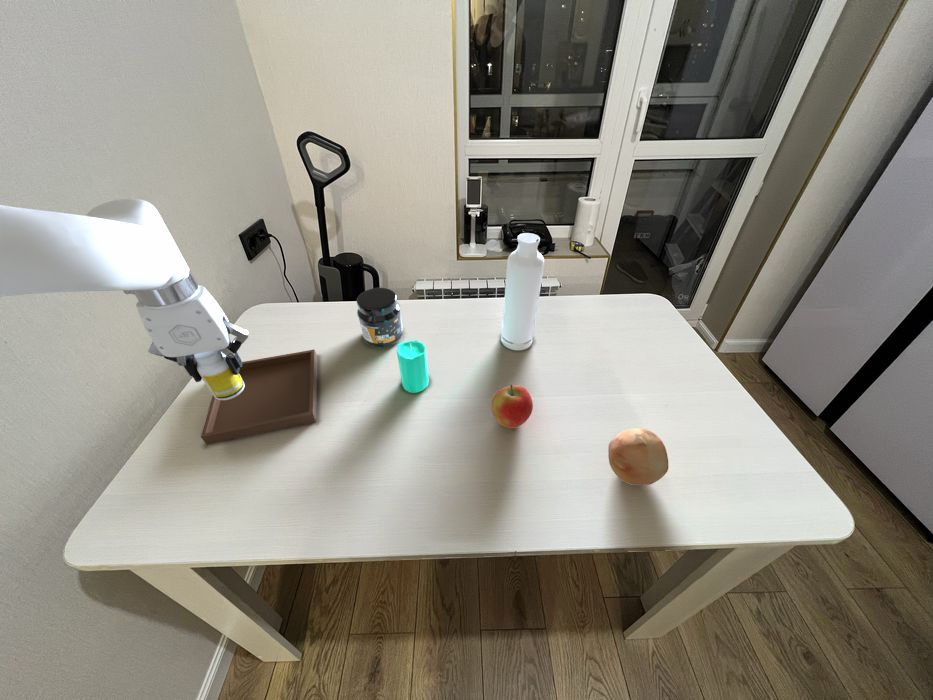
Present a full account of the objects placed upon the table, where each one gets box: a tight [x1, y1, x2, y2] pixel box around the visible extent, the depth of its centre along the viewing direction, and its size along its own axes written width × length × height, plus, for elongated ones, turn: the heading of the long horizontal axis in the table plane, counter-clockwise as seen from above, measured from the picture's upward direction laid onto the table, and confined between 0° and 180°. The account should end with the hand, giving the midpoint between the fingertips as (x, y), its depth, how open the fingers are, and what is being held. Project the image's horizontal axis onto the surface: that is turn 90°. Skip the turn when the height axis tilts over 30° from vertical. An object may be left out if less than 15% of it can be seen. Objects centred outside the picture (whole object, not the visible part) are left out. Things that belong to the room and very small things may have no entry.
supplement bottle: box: [194, 350, 245, 400], centre depth 68 cm, size 5×5×10 cm
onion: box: [607, 427, 669, 486], centre depth 66 cm, size 10×10×10 cm
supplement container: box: [356, 287, 404, 348], centre depth 95 cm, size 10×10×12 cm
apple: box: [490, 384, 534, 429], centre depth 75 cm, size 8×8×10 cm
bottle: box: [500, 232, 546, 351], centre depth 89 cm, size 8×8×28 cm
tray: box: [200, 348, 318, 446], centre depth 82 cm, size 21×21×3 cm
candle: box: [396, 340, 429, 394], centre depth 82 cm, size 6×6×12 cm
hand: (219, 372), depth 68 cm, fingers closed on supplement bottle, 5 cm apart
